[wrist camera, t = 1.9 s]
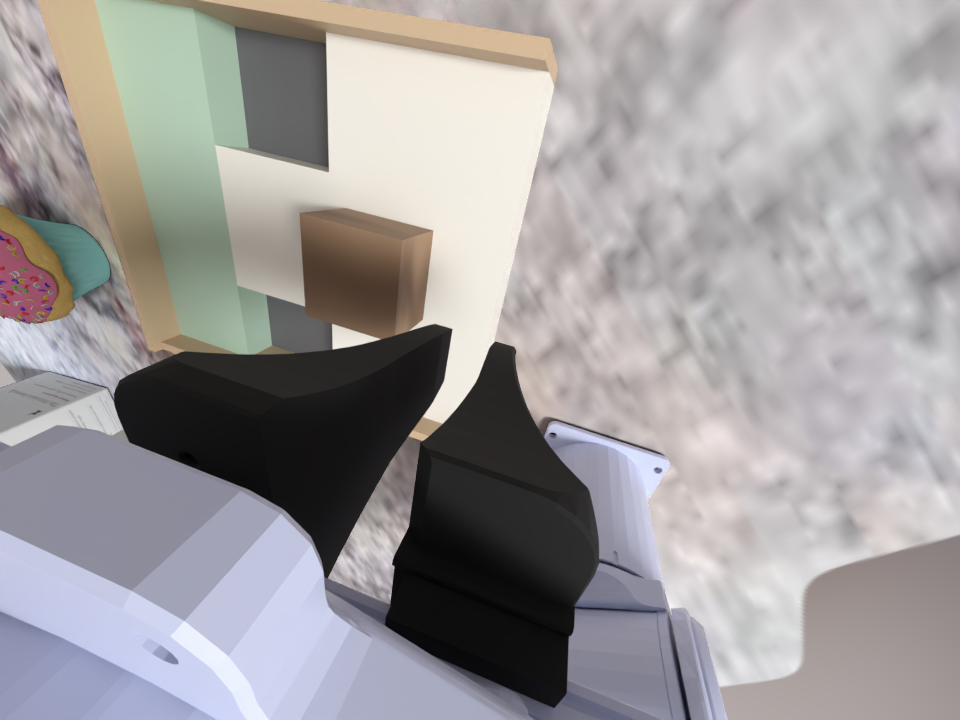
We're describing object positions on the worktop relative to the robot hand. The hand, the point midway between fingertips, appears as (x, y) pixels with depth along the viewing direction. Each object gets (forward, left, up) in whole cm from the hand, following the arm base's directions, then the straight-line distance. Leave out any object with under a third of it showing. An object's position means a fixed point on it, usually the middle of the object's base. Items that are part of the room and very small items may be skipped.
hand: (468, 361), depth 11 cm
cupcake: (-7, +36, -11) cm, 38 cm away
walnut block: (0, +7, -8) cm, 11 cm away
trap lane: (0, +13, -10) cm, 16 cm away
